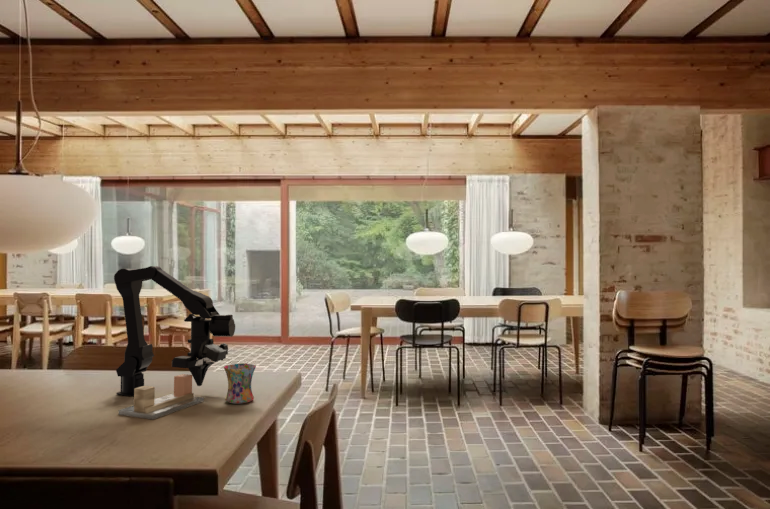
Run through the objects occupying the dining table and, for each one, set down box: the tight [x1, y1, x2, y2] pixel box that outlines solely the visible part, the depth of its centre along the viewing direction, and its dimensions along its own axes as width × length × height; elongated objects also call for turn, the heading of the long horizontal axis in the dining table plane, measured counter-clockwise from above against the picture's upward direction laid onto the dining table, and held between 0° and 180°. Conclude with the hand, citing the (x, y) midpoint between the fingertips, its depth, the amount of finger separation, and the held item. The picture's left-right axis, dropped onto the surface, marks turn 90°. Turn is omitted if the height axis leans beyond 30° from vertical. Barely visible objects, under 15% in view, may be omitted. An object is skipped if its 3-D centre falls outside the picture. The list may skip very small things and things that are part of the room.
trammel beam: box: [133, 385, 195, 413], centre depth 151 cm, size 5×18×6 cm, turn 160°
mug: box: [223, 363, 257, 405], centre depth 160 cm, size 12×9×11 cm
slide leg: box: [173, 373, 193, 397], centre depth 159 cm, size 4×4×6 cm
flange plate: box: [117, 393, 205, 420], centre depth 151 cm, size 12×20×1 cm, turn 159°
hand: (199, 385), depth 166 cm, fingers closed
